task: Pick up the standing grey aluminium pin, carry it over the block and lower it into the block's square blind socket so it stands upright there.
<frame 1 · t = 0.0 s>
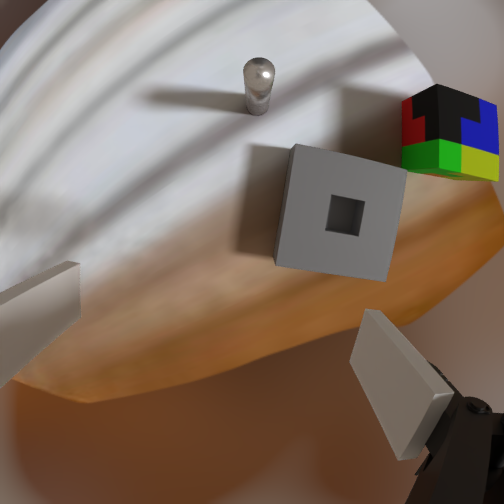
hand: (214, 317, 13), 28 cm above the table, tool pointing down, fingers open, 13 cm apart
socket block: (334, 212, 40), on the table
pin: (257, 105, 37), on the table
puzzle toy: (430, 141, 38), on the table
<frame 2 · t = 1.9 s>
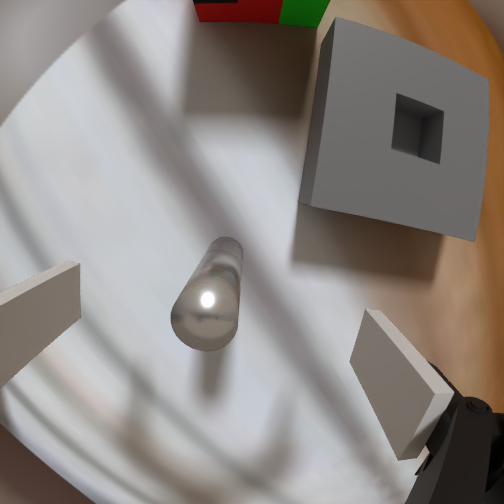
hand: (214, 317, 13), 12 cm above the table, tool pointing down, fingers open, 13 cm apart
socket block: (390, 136, 24), on the table
pin: (225, 254, 25), on the table
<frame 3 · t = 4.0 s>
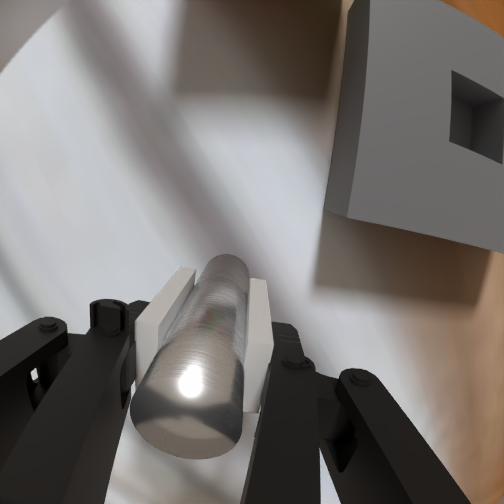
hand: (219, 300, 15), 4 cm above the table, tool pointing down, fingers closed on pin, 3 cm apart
socket block: (435, 128, 17), on the table
pin: (226, 276, 19), on the table, touching gripper
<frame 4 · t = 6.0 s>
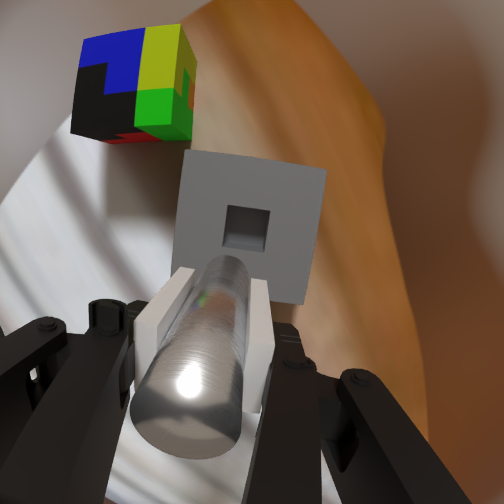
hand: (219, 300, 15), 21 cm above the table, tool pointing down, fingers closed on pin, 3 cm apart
socket block: (246, 223, 36), on the table
pin: (225, 277, 20), point 17 cm above the table, touching gripper
puzzle toy: (153, 101, 33), on the table
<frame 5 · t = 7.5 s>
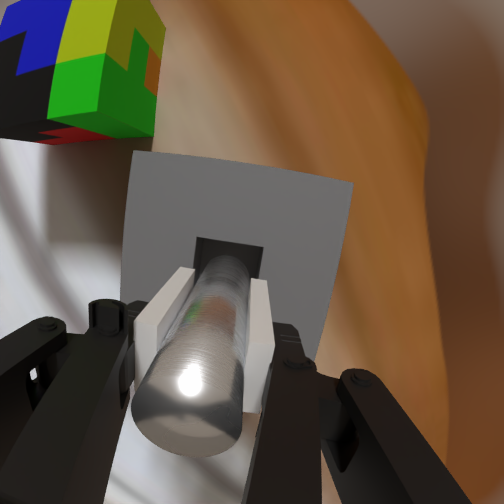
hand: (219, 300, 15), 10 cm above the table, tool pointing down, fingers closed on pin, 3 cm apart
socket block: (230, 257, 25), on the table
pin: (226, 276, 20), point 5 cm above the table, touching gripper
puzzle toy: (105, 85, 22), on the table
when the fingers open (7 cm above the table, at t = 8.5 s): pin drops 1 cm, resting on socket block.
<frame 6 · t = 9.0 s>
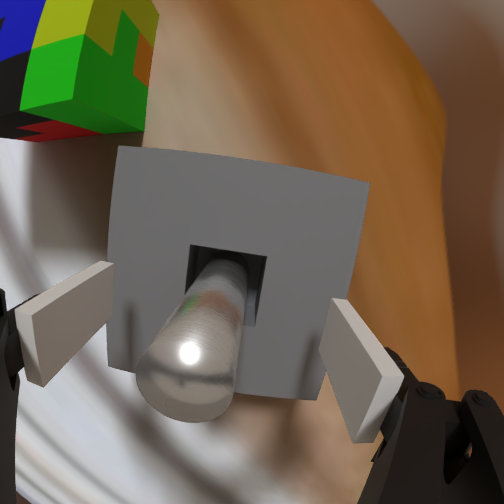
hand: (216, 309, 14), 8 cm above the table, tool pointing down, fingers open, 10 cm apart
socket block: (229, 265, 22), on the table
pin: (228, 271, 21), point 2 cm above the table, touching socket block
puzzle toy: (93, 76, 20), on the table
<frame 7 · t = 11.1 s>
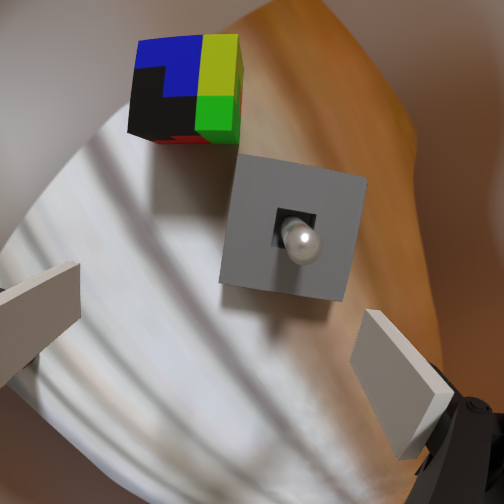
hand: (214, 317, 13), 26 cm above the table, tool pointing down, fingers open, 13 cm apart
socket block: (289, 224, 38), on the table
pin: (290, 226, 37), point 2 cm above the table, touching socket block
puzzle toy: (201, 105, 36), on the table
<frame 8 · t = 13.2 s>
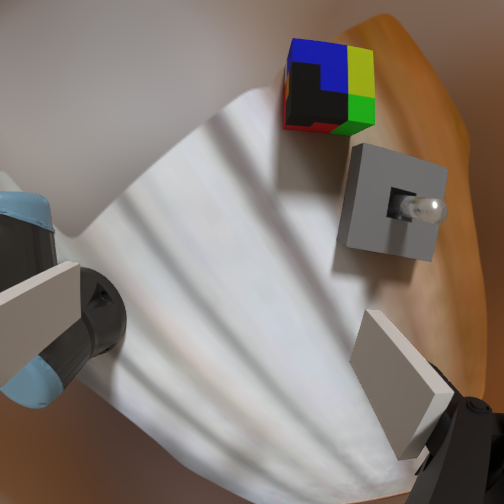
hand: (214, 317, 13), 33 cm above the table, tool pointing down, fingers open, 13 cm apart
socket block: (387, 202, 45), on the table
pin: (391, 203, 43), point 2 cm above the table, touching socket block
puzzle toy: (317, 100, 42), on the table
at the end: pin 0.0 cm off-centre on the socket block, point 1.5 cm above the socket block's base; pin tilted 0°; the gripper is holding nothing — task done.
